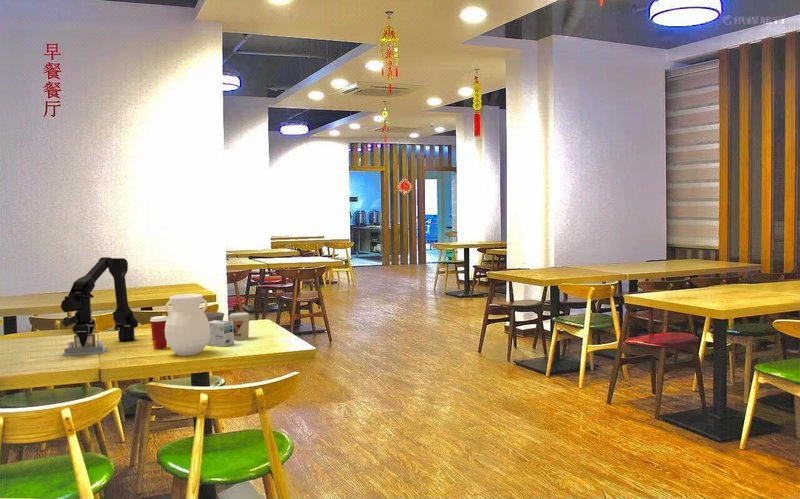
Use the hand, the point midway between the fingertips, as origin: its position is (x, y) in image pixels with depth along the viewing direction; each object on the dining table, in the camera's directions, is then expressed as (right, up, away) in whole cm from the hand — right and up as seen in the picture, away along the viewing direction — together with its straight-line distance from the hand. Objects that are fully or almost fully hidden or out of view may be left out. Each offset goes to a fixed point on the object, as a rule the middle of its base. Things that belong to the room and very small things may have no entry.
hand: (85, 344), depth 297 cm
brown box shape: (0, -3, 0) cm, 3 cm away
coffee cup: (+62, -1, +25) cm, 67 cm away
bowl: (+40, -1, +41) cm, 58 cm away
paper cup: (+31, -3, +6) cm, 31 cm away
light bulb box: (+56, -2, +12) cm, 57 cm away
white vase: (+47, -3, -7) cm, 48 cm away
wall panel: (0, -3, +1) cm, 3 cm away
